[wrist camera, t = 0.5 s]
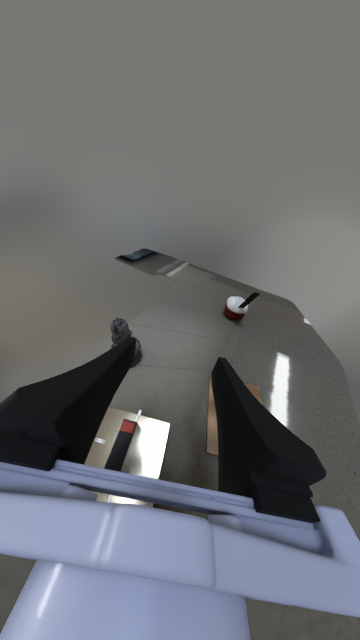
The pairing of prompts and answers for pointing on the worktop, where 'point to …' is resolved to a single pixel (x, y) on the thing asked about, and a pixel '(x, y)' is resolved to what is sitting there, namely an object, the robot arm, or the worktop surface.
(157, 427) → the panel
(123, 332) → the salt shaker
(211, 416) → the button block
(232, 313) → the cocoa
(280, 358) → the worktop surface
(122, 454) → the knob
